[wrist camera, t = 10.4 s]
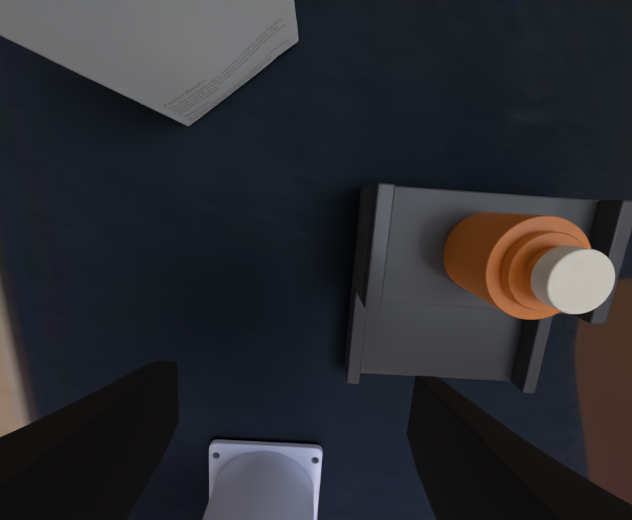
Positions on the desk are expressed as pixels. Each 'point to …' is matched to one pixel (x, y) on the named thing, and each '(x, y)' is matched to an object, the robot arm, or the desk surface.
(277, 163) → the desk surface
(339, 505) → the desk surface
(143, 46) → the cosmetic box
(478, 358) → the rack
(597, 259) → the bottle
